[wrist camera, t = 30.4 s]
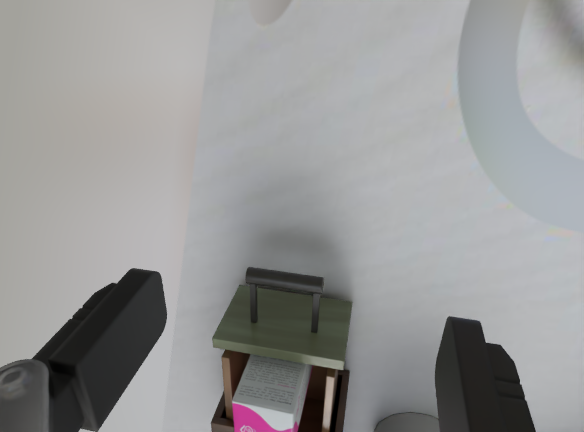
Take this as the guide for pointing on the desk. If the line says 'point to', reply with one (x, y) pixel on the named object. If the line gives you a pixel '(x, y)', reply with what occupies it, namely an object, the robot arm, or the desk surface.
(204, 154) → the desk surface
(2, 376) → the robot arm
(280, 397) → the supplement box
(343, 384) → the cabinet
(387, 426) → the cup
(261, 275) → the drawer
